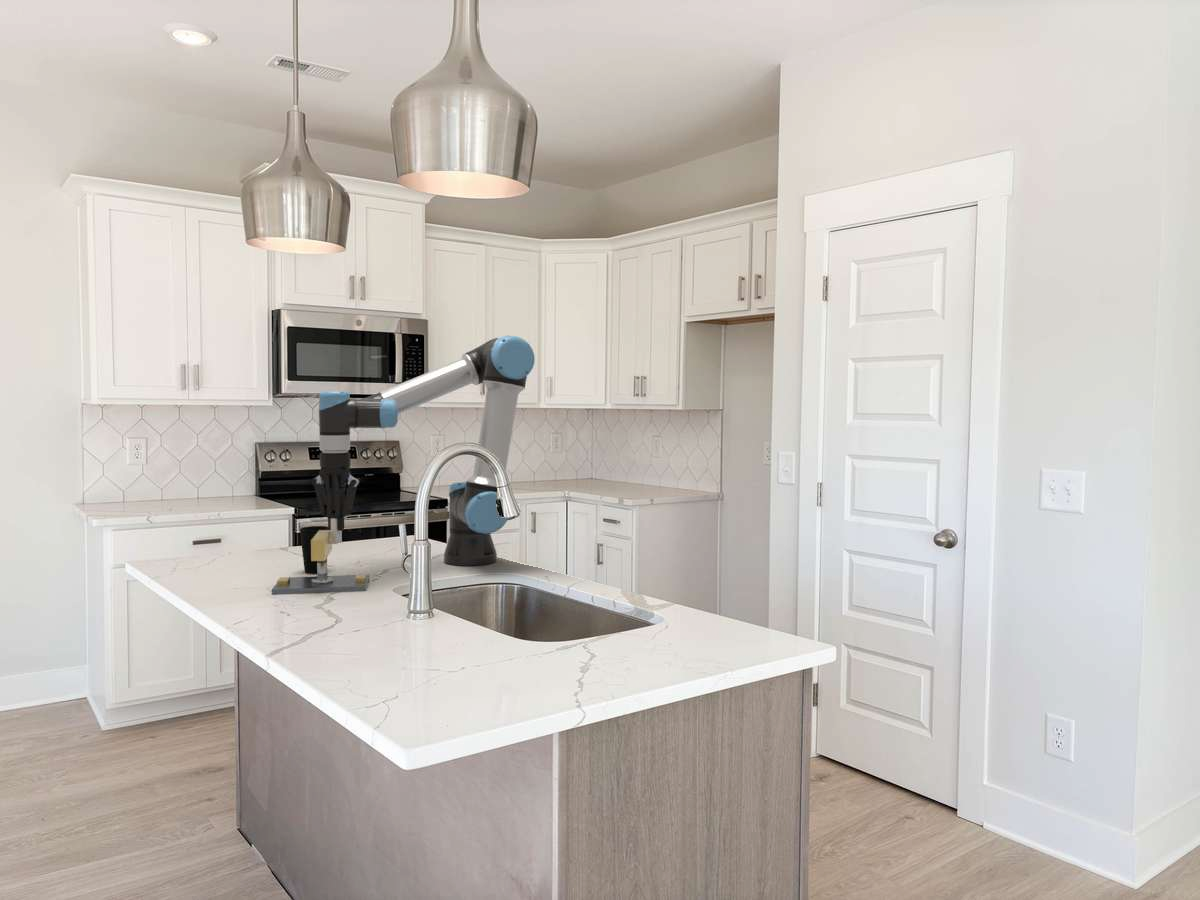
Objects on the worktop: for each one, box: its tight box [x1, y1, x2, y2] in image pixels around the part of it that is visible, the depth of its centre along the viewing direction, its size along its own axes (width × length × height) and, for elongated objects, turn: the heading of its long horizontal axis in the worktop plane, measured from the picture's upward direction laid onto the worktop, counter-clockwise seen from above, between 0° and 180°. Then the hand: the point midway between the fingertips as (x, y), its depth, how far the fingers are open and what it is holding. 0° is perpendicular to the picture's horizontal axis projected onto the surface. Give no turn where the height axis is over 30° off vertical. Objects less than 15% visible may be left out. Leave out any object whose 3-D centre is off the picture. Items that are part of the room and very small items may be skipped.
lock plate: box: [271, 561, 371, 595], centre depth 221 cm, size 22×14×6 cm, turn 101°
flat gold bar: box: [311, 530, 333, 562], centre depth 220 cm, size 3×16×7 cm, turn 11°
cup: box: [299, 525, 329, 575], centre depth 238 cm, size 8×8×12 cm
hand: (336, 542), depth 226 cm, fingers closed
